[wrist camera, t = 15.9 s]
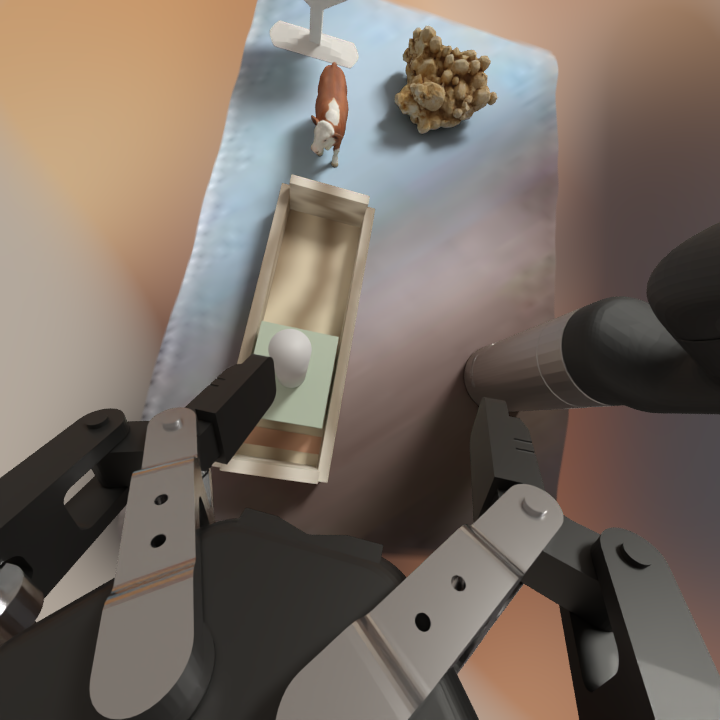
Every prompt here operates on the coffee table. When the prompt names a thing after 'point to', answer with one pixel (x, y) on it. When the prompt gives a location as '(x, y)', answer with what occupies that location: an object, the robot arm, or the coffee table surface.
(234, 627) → the robot arm
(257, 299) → the bay
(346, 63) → the heart sculpture
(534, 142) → the coffee table surface
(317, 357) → the green block with post
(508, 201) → the coffee table surface
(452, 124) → the mineral formation
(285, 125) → the coffee table surface
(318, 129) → the bull figurine
